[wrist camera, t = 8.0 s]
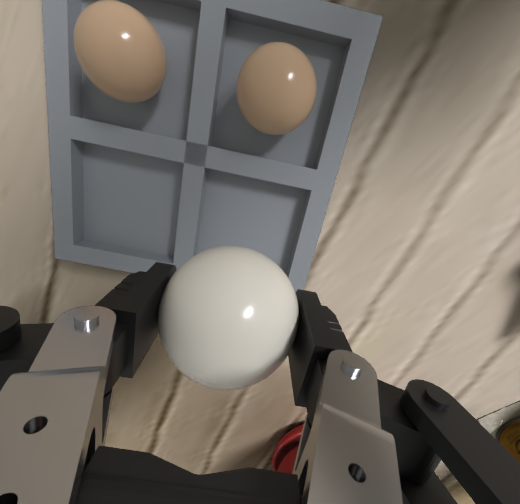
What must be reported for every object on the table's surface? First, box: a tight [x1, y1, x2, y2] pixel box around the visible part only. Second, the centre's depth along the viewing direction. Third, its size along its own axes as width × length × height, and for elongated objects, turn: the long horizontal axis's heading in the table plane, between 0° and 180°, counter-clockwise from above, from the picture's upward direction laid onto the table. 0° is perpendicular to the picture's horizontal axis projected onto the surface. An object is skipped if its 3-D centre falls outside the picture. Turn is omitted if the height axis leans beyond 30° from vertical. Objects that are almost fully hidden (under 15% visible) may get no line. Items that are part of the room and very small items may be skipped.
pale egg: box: [158, 246, 299, 390], centre depth 10 cm, size 5×5×5 cm
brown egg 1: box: [73, 0, 167, 103], centre depth 16 cm, size 5×5×5 cm
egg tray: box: [42, 0, 383, 293], centre depth 20 cm, size 20×20×2 cm
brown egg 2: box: [236, 42, 317, 135], centre depth 17 cm, size 5×5×5 cm
